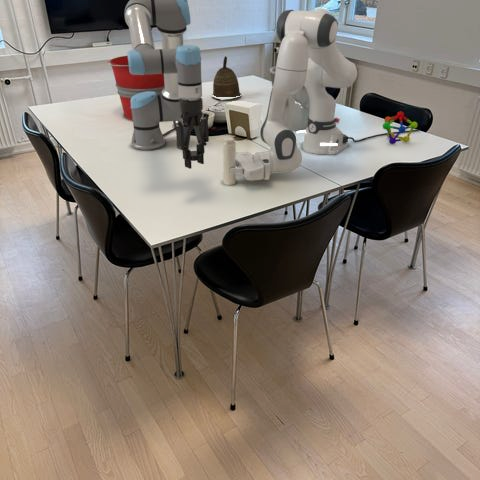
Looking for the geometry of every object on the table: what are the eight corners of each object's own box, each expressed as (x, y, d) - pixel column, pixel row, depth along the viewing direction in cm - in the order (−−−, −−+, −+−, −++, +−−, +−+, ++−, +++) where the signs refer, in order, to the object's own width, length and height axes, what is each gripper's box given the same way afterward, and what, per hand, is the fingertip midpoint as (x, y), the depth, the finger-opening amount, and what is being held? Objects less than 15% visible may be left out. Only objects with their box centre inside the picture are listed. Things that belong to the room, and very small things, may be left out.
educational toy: (377, 146, 209) (379, 114, 202) (384, 138, 219) (386, 107, 211) (411, 149, 202) (415, 116, 195) (417, 141, 212) (420, 109, 204)
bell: (227, 105, 294) (202, 96, 282) (238, 66, 289) (213, 55, 277) (243, 108, 280) (217, 98, 268) (255, 66, 275) (229, 55, 263)
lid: (201, 155, 157) (201, 150, 156) (201, 160, 152) (201, 155, 151) (186, 155, 156) (186, 150, 155) (186, 161, 152) (186, 156, 151)
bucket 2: (296, 138, 215) (301, 78, 201) (255, 124, 234) (256, 68, 219) (335, 125, 232) (342, 70, 217) (294, 113, 251) (297, 61, 236)
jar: (235, 185, 170) (235, 141, 161) (223, 185, 170) (222, 141, 160) (235, 179, 174) (235, 136, 165) (223, 180, 174) (222, 136, 164)
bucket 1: (123, 105, 263) (116, 51, 247) (182, 106, 262) (179, 52, 247) (107, 123, 234) (97, 63, 218) (173, 124, 233) (168, 64, 217)
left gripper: (176, 105, 136) (181, 175, 148) (218, 94, 147) (220, 161, 159) (161, 100, 140) (167, 169, 152) (203, 91, 151) (206, 155, 163)
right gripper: (252, 146, 179) (219, 150, 175) (271, 165, 162) (235, 169, 158) (252, 161, 182) (220, 165, 178) (270, 181, 165) (235, 185, 162)
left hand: (194, 165), depth 156 cm, fingers closed on lid, 5 cm apart
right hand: (227, 167), depth 168 cm, fingers closed on jar, 5 cm apart
